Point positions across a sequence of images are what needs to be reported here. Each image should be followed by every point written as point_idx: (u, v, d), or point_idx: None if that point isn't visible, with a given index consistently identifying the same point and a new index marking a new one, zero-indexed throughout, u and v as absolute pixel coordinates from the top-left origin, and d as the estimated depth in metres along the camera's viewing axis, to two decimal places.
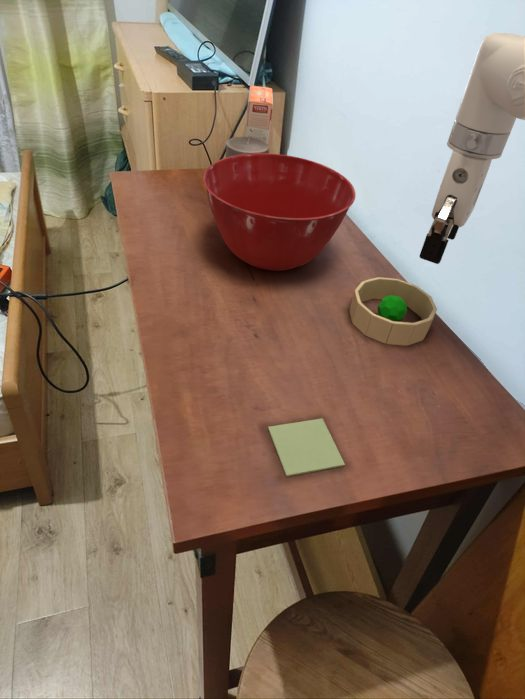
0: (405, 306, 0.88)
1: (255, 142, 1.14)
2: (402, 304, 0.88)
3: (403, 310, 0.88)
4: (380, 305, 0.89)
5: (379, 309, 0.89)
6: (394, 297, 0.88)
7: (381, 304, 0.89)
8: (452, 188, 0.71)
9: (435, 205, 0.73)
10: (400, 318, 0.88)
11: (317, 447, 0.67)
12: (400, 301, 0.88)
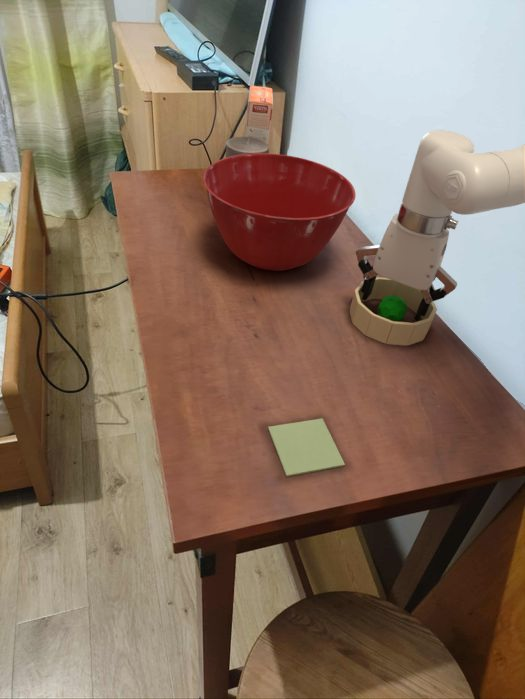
0: (405, 306, 0.88)
1: (255, 142, 1.14)
2: (402, 304, 0.88)
3: (403, 310, 0.88)
4: (380, 305, 0.89)
5: (379, 309, 0.89)
6: (394, 297, 0.88)
7: (381, 304, 0.89)
8: (440, 261, 0.80)
9: (430, 281, 0.81)
10: (400, 318, 0.88)
11: (317, 447, 0.67)
12: (400, 301, 0.88)
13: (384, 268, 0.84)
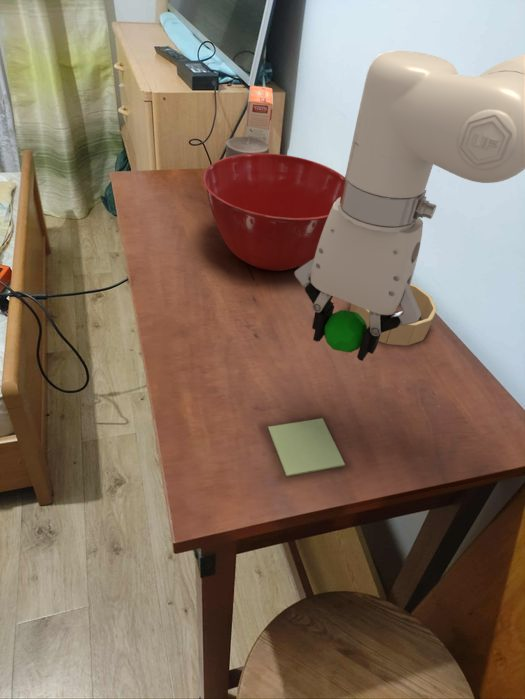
0: (364, 327, 0.58)
1: (255, 142, 1.14)
2: (359, 324, 0.58)
3: (360, 333, 0.58)
4: (327, 325, 0.59)
5: (325, 331, 0.59)
6: (348, 313, 0.58)
7: (328, 324, 0.59)
8: (410, 270, 0.51)
9: (396, 301, 0.52)
10: (356, 345, 0.58)
11: (317, 447, 0.67)
12: (356, 320, 0.58)
13: (326, 281, 0.55)
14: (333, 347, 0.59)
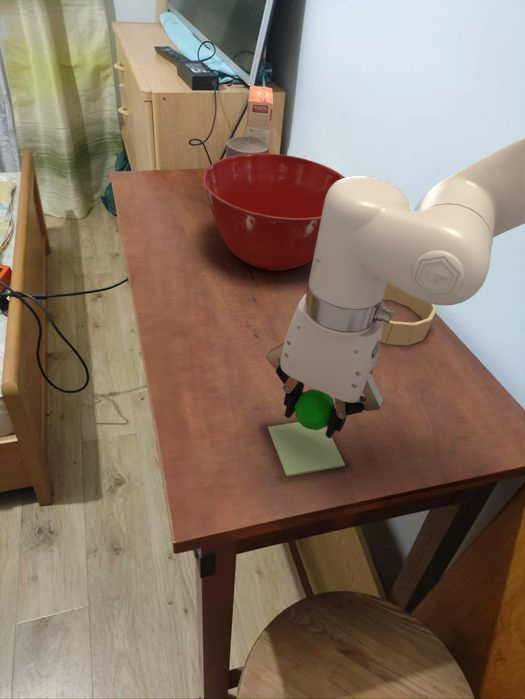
0: (332, 407, 0.61)
1: (255, 142, 1.14)
2: (327, 405, 0.61)
3: (328, 414, 0.61)
4: (296, 405, 0.62)
5: (295, 410, 0.62)
6: (316, 394, 0.61)
7: (298, 403, 0.62)
8: (371, 364, 0.54)
9: (358, 392, 0.55)
10: (324, 424, 0.61)
11: (317, 447, 0.67)
12: (324, 401, 0.61)
13: (294, 369, 0.58)
14: (303, 425, 0.62)
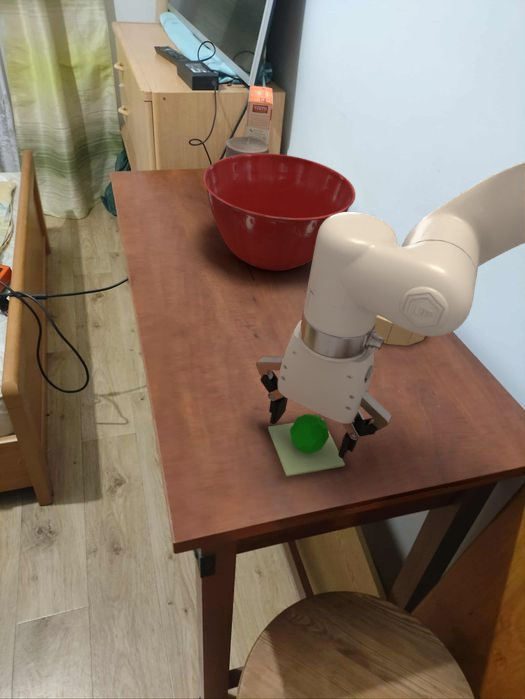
0: (325, 432, 0.64)
1: (255, 142, 1.14)
2: (320, 430, 0.64)
3: (322, 438, 0.64)
4: (292, 429, 0.65)
5: (291, 434, 0.65)
6: (311, 419, 0.64)
7: (293, 428, 0.65)
8: (365, 388, 0.56)
9: (353, 414, 0.57)
10: (318, 448, 0.64)
11: None
12: (318, 426, 0.64)
13: (291, 391, 0.60)
14: (298, 448, 0.65)
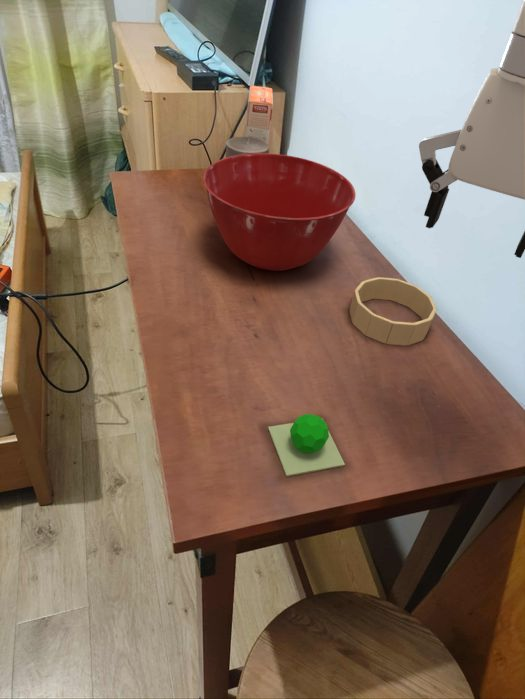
0: (325, 432, 0.64)
1: (255, 142, 1.14)
2: (320, 430, 0.64)
3: (322, 438, 0.64)
4: (292, 429, 0.65)
5: (291, 434, 0.65)
6: (311, 419, 0.64)
7: (293, 428, 0.65)
8: None
9: None
10: (318, 448, 0.64)
11: None
12: (318, 426, 0.64)
13: (470, 165, 0.50)
14: (298, 448, 0.65)
